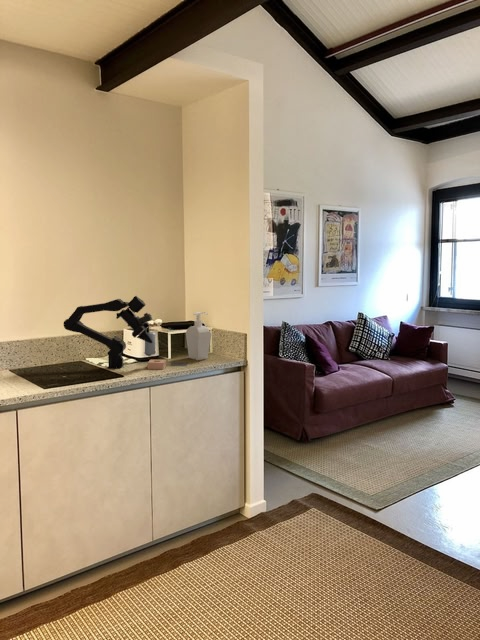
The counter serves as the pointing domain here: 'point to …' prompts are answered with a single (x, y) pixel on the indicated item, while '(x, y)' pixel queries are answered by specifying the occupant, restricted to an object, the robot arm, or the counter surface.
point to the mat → (178, 364)
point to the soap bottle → (198, 339)
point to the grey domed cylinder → (150, 344)
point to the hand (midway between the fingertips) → (152, 341)
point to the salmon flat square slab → (156, 364)
